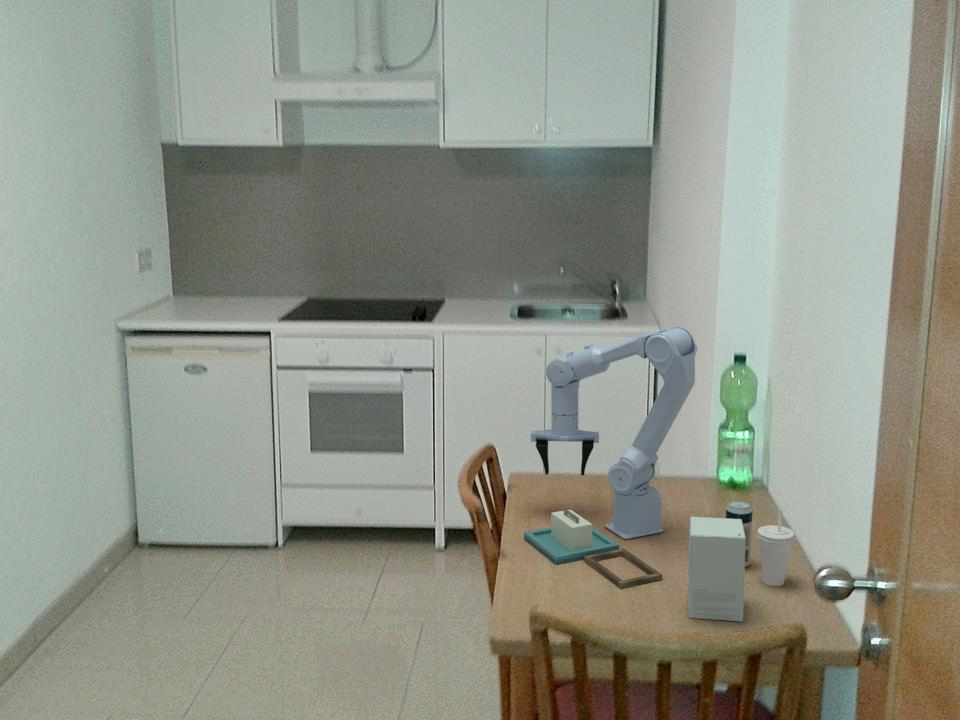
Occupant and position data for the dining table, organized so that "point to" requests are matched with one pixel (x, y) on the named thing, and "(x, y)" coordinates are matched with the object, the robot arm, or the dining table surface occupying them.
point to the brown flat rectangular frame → (624, 553)
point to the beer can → (745, 513)
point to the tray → (562, 554)
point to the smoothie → (775, 551)
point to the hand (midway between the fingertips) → (564, 473)
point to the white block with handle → (571, 530)
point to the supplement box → (716, 569)
